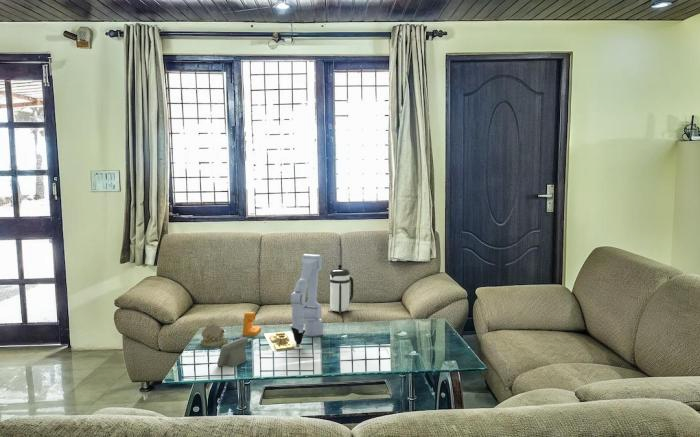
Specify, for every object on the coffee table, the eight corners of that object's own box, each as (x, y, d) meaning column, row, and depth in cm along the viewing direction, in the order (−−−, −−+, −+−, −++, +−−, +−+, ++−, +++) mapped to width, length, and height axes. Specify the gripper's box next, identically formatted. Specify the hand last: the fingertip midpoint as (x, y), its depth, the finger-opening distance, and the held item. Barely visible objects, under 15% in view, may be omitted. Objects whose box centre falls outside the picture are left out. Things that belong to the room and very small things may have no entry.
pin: (299, 344, 261) (299, 333, 260) (300, 346, 258) (300, 334, 258) (295, 345, 260) (294, 333, 260) (295, 346, 258) (295, 335, 257)
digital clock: (242, 356, 247) (241, 334, 246) (253, 360, 241) (253, 338, 240) (212, 365, 235) (212, 342, 234) (224, 370, 229) (223, 347, 228)
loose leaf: (286, 335, 274) (286, 328, 274) (289, 340, 267) (289, 332, 267) (269, 337, 271) (269, 329, 271) (272, 342, 264) (271, 334, 264)
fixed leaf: (289, 340, 267) (289, 334, 266) (294, 348, 255) (294, 341, 255) (272, 342, 264) (272, 335, 264) (276, 350, 252) (276, 343, 252)
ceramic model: (196, 345, 262) (195, 325, 261) (207, 338, 272) (206, 319, 271) (221, 347, 258) (221, 328, 257) (231, 340, 269) (231, 321, 268)
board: (291, 332, 282) (291, 331, 282) (302, 349, 256) (302, 348, 256) (263, 335, 278) (263, 333, 278) (272, 352, 251) (272, 351, 251)
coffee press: (353, 315, 317) (353, 266, 314) (327, 314, 317) (327, 266, 314) (353, 307, 334) (353, 261, 331) (328, 307, 334) (328, 261, 331)
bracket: (256, 337, 274) (255, 315, 273) (242, 336, 275) (242, 314, 274) (261, 331, 285) (261, 309, 284) (248, 330, 286) (248, 309, 284)
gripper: (287, 312, 263) (287, 338, 265) (293, 320, 250) (293, 348, 251) (300, 311, 266) (300, 337, 267) (307, 319, 252) (307, 346, 253)
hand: (297, 342), depth 259 cm, fingers open, 4 cm apart
